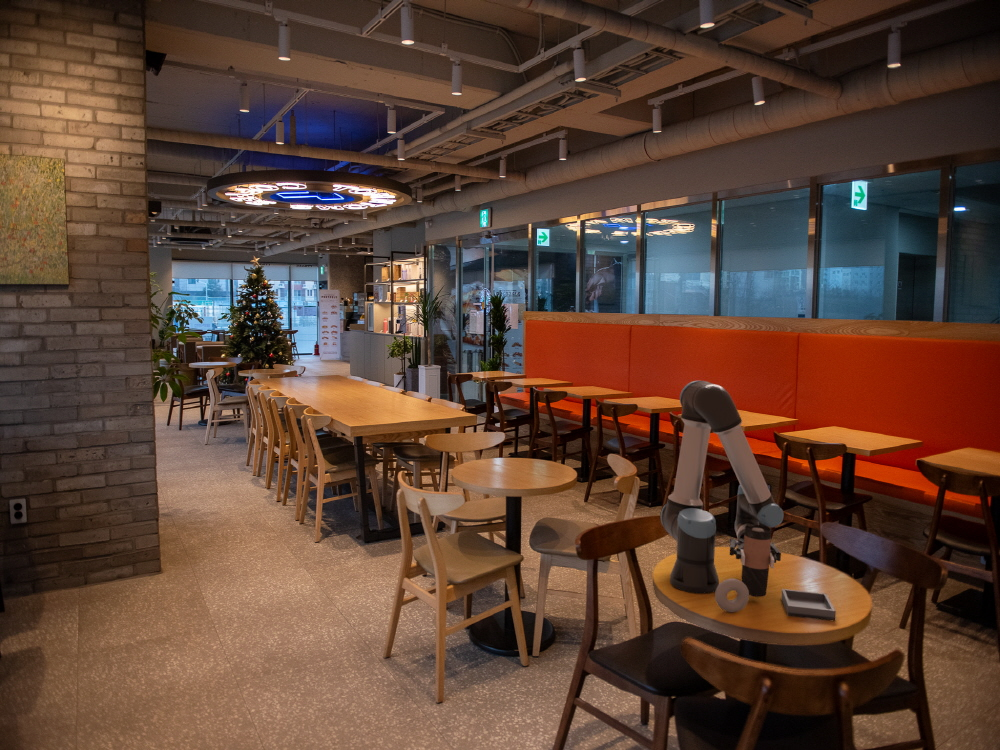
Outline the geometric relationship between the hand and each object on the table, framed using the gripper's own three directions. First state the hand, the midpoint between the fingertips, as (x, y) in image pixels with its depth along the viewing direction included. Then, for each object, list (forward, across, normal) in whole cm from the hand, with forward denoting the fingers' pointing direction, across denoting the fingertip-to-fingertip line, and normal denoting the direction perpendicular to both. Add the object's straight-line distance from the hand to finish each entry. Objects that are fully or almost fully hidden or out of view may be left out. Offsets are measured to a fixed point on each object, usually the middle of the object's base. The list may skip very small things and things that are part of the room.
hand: (758, 562), depth 203 cm
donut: (+5, +7, -14) cm, 17 cm away
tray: (-3, -15, -13) cm, 20 cm away
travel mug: (-5, 0, -11) cm, 12 cm away
